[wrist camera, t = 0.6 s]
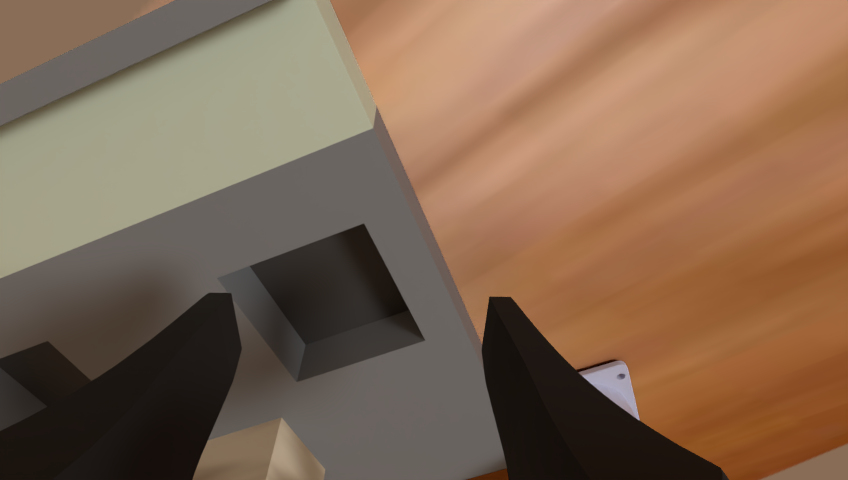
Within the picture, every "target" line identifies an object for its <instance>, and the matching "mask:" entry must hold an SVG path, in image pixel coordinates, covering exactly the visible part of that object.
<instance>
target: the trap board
mask: <svg viewBox="0 0 848 480" xmlns="http://www.w3.org/2000/svg"><path fill="white" fill-rule="evenodd" d="M208 293H231V294H232V299H233V304H234V309H235V315H236V320H237V325H238V330H239V336H240V341H241V346H242V351H241V354H240V358H239V362H238V366H237V369H236V373H235V376H234V380H233V383H232V385H231V387H230V390H229V392H228V395H227V397H226V399H225V402H224V404H223V406H222V409H221V411H220V413H219V416H218V418H217V420H216V423H215V425H214V427H213V430H212V432H211V434H210V436H209V439H208V440H211V439H214V438H218V437H221V436H224V435H227V434H230V433H234V432H237V431H240V430H243V429H246V428H250V427H253V426H256V425H259V424H262V423H265V422H269V421H272V420H275V419H278V418H281V417H282V418H283V420H284V421H285V422H286V423H287V424H288V426H289V427H290V428H291V429H292V430H293V432H294V433H295V434H296V435H297V436H298V438H299V439H300V440H301V441H302V442H303V443H304V445H305V446H306V447H307V448H308V449H309V451H310V452H311V453H312V454H313V455H314V457H315V458H316V459H317V460H318V461H319V463H320V464H321V465H322V466H323V467H324V469H325V475H324V480H466V479H470V478H473V477H477V476H481V475H484V474H488V473H492V472H495V471H499V470H503V469H506V468H507V466H506V461H505V457H504V452H503V448H502V444H501V441H500V437H499V433H498V429H497V425H496V421H495V418H494V414H493V410H492V406H491V402H490V398H489V394H488V390H487V386H486V382H485V374H484V367H483V359H482V351H481V350H482V344H481V342H480V339H479V337H478V335H477V333H476V330H475V328H474V326H473V324H472V321H471V319H470V317H469V315H468V312H467V310H466V308H465V305H464V303H463V301H462V299H461V296H460V294H459V292H458V290H457V287H456V285H455V283H454V281H453V278H452V276H451V274H450V272H449V269H448V267H447V265H446V262H445V260H444V258H443V256H442V253H441V251H440V249H439V247H438V244H437V242H436V240H435V238H434V235H433V233H432V231H431V229H430V226H429V224H428V222H427V219H426V217H425V215H424V213H423V210H422V208H421V206H420V204H419V201H418V199H417V197H416V195H415V192H414V190H413V188H412V186H411V183H410V181H409V179H408V176H407V174H406V172H405V170H404V167H403V165H402V163H401V161H400V158H399V156H398V154H397V152H396V149H395V147H394V145H393V143H392V140H391V138H390V136H389V133H388V131H387V129H386V127H385V124H384V122H383V120H382V118H381V115H380V113H379V111H378V109H377V106H376V104H375V102H374V100H373V97H372V95H371V93H370V90H369V88H368V86H367V84H366V81H365V79H364V77H363V75H362V72H361V70H360V68H359V66H358V63H357V61H356V59H355V57H354V54H353V52H352V50H351V47H350V45H349V43H348V41H347V38H346V36H345V34H344V32H343V29H342V27H341V25H340V23H339V20H338V18H337V16H336V14H335V11H334V9H333V7H332V4H331V2H330V0H175V1H173V2H171V3H169V4H166V5H164V6H162V7H160V8H158V9H156V10H154V11H152V12H150V13H148V14H146V15H144V16H141V17H139V18H137V19H135V20H133V21H131V22H129V23H127V24H125V25H123V26H121V27H118V28H116V29H115V30H112V31H110V32H108V33H106V34H104V35H102V36H100V37H98V38H96V39H94V40H91V41H89V42H87V43H85V44H83V45H81V46H79V47H77V48H75V49H73V50H70V51H68V52H66V53H64V54H62V55H60V56H58V57H56V58H54V59H52V60H50V61H48V62H46V63H43V64H41V65H40V66H37V67H35V68H33V69H31V70H29V71H27V72H25V73H23V74H21V75H18V76H16V77H14V78H12V79H11V80H8V81H6V82H4V83H2V84H0V431H1V430H3V429H5V428H7V427H9V426H11V425H13V424H15V423H17V422H19V421H21V420H23V419H25V418H27V417H29V416H31V415H33V414H35V413H37V412H39V411H40V410H42V409H44V408H46V407H48V406H49V405H51V404H53V403H55V402H57V401H59V400H60V399H62V398H64V397H66V396H68V395H69V394H71V393H73V392H75V391H76V390H78V389H80V388H81V387H83V386H84V385H86V384H88V383H89V382H91V381H92V380H94V379H96V378H97V377H99V376H100V375H102V374H103V373H105V372H106V371H108V370H109V369H111V368H112V367H114V366H115V365H117V364H118V363H120V362H121V361H122V360H124V359H125V358H126V357H128V356H129V355H130V354H132V353H133V352H134V351H136V350H137V349H139V348H140V347H141V346H143V345H144V344H145V343H147V342H148V341H149V340H151V339H152V338H153V337H155V336H156V335H157V334H158V333H160V332H161V331H162V330H163V329H165V328H166V327H167V326H168V325H170V324H171V323H172V322H173V321H174V320H176V319H177V318H178V317H179V316H181V315H182V314H183V313H184V312H185V311H187V310H188V309H189V308H190V307H191V306H193V305H194V304H195V303H196V302H197V301H199V300H200V299H201V298H202V297H204V296H205V295H206V294H208Z"/></svg>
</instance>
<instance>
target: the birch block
mask: <svg viewBox="0 0 848 480" xmlns="http://www.w3.org/2000/svg"><path fill="white" fill-rule="evenodd" d="M324 475H325V469H324V467H323V466H322V465H321V464H320V463H319V461H318V460H317V459H316V458H315V457H314V455H313V454H312V453H311V452H310V451H309V449H308V448H307V447H306V446H305V445H304V443H303V442H302V441H301V440H300V439H299V438H298V436H297V435H296V434H295V433H294V432H293V430H292V429H291V428H290V427H289V426H288V424H287V423H286V422H285V421H284V420H283V418H282V417H281V418H278V419H275V420H272V421H269V422H265V423H262V424H259V425H256V426H253V427H250V428H246V429H243V430H240V431H237V432H234V433H230V434H227V435H224V436H221V437H218V438H214V439H211V440H208V441H207V443H206V446H205V448H204V450H203V453H202V455H201V458H200V460H199V463H198V465H197V468H196V471H195V473H194V476H193V480H324Z"/></svg>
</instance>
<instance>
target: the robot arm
mask: <svg viewBox="0 0 848 480" xmlns="http://www.w3.org/2000/svg"><path fill="white" fill-rule="evenodd" d="M241 351H242V346H241V341H240V336H239V330H238V325H237V320H236V315H235V309H234V304H233V299H232V294H231V293H208V294H206V295H205V296H204V297H202V298H201V299H200V300H199V301H197V302H196V303H195V304H194V305H193V306H191V307H190V308H189V309H188V310H187V311H185V312H184V313H183V314H182V315H181V316H179V317H178V318H177V319H176V320H174V321H173V322H172V323H171V324H170V325H168V326H167V327H166V328H165V329H163V330H162V331H161V332H160V333H158V334H157V335H156V336H155V337H153V338H152V339H151V340H149V341H148V342H147V343H145V344H144V345H143V346H141V347H140V348H139V349H137V350H136V351H134V352H133V353H132V354H130V355H129V356H128V357H126V358H125V359H124V360H122V361H121V362H120V363H118V364H117V365H115V366H114V367H112V368H111V369H109V370H108V371H106V372H105V373H103V374H102V375H100V376H99V377H97V378H96V379H94V380H92V381H91V382H89V383H88V384H86V385H84V386H83V387H81V388H80V389H78V390H76V391H75V392H73V393H71V394H69V395H68V396H66V397H64V398H62V399H60V400H59V401H57V402H55V403H53V404H51V405H49V406H48V407H46V408H44V409H42V410H40V411H39V412H37V413H35V414H33V415H31V416H29V417H27V418H25V419H23V420H21V421H19V422H17V423H15V424H13V425H11V426H9V427H7V428H5V429H3V430H1V431H0V480H193V476H194V473H195V471H196V468H197V465H198V463H199V460H200V458H201V455H202V453H203V450H204V448H205V446H206V443H207V441H208V439H209V436H210V434H211V432H212V430H213V427H214V425H215V423H216V420H217V418H218V416H219V413H220V411H221V409H222V406H223V404H224V402H225V399H226V397H227V395H228V392H229V390H230V387H231V385H232V383H233V380H234V376H235V373H236V369H237V366H238V362H239V358H240V354H241ZM481 351H482V359H483V367H484V374H485V382H486V386H487V390H488V394H489V398H490V402H491V406H492V410H493V414H494V418H495V421H496V425H497V429H498V433H499V437H500V441H501V444H502V448H503V452H504V457H505V461H506V466H507V471H508V477H509V480H729V479H728V478H727V476H726V475H725V473H724V472H723V471H722V469H721V468H720V467H718V466H716V465H714V464H713V463H711V462H709V461H707V460H705V459H703V458H701V457H700V456H698V455H696V454H694V453H692V452H690V451H689V450H687V449H685V448H683V447H681V446H679V445H678V444H676V443H674V442H672V441H671V440H669V439H668V438H666V437H664V436H663V435H661V434H660V433H658V432H656V431H655V430H653V429H651V428H650V427H648V426H647V425H645V424H644V423H642V422H641V421H640V419H639V415H638V411H637V406H636V402H635V398H634V393H633V389H632V384H631V380H630V376H629V371H628V368H627V366H626V364H625V362H623V361H615V362H611V363H608V364H605V365H601V366H598V367H594V368H591V369H588V370H584V371H581V372H577V371H576V370H575V369H574V368H573V367H572V366H571V365H570V364H569V363H568V362H567V361H566V360H565V359H564V358H563V357H562V356H561V355H560V354H559V353H558V352H557V351H556V350H555V349H554V347H553V346H552V345H551V344H550V343H549V342H548V341H547V340H546V339H545V337H544V336H543V335H542V334H541V333H540V332H539V331H538V329H537V328H536V327H535V326H534V325H533V323H532V322H531V321H530V320H529V319H528V317H527V316H526V315H525V314H524V313H523V311H522V310H521V309H520V308H519V306H518V305H517V304H516V303H515V301H514V300H513V299H512V298H511V297H489V304H488V310H487V317H486V324H485V330H484V337H483V344H482V350H481Z"/></svg>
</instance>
